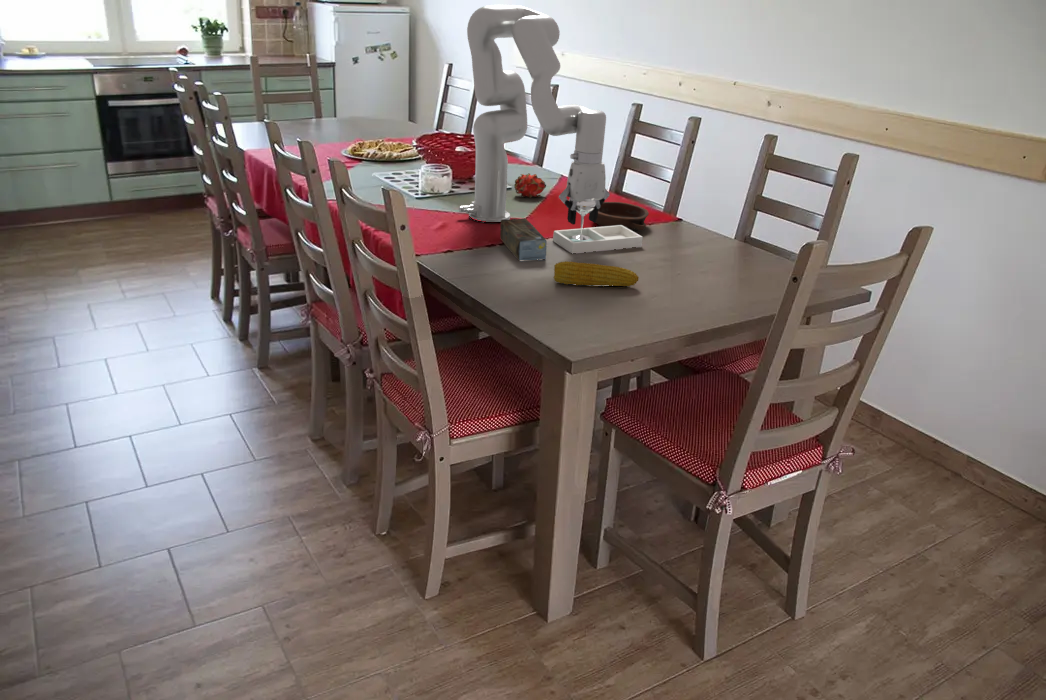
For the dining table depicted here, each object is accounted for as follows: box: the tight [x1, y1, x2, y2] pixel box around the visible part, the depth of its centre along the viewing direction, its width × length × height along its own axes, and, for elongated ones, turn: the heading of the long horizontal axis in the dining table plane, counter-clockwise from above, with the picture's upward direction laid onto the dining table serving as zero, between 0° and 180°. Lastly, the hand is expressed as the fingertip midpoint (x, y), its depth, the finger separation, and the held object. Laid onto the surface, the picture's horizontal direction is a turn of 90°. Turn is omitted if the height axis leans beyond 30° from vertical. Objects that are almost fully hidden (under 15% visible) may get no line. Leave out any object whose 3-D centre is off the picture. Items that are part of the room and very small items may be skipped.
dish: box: [596, 201, 650, 231], centre depth 254 cm, size 17×22×5 cm
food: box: [553, 260, 640, 287], centre depth 205 cm, size 21×6×6 cm, turn 92°
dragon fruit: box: [513, 173, 547, 199], centre depth 277 cm, size 8×8×12 cm
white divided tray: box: [552, 225, 643, 255], centre depth 235 cm, size 22×12×3 cm, turn 115°
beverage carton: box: [499, 218, 548, 261], centre depth 226 cm, size 8×19×7 cm, turn 17°
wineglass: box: [572, 198, 596, 240], centre depth 230 cm, size 7×7×12 cm
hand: (582, 221), depth 231 cm, fingers closed on wineglass, 5 cm apart
